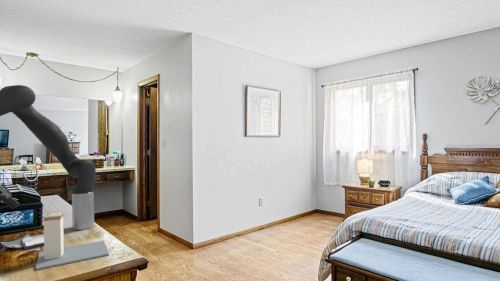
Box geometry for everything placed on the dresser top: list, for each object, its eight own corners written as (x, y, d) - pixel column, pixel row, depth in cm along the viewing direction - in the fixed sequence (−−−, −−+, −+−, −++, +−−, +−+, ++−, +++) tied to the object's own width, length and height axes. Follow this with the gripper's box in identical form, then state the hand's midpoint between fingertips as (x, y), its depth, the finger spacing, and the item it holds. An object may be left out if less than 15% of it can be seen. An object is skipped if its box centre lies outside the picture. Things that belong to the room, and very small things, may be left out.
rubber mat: (39, 253, 111) (39, 251, 111) (103, 241, 123) (103, 240, 123) (35, 270, 97) (35, 268, 97) (108, 255, 109) (108, 253, 109)
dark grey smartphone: (21, 241, 126) (24, 251, 115) (21, 237, 126) (24, 247, 115) (45, 236, 132) (51, 245, 121) (45, 233, 132) (51, 241, 121)
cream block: (44, 259, 104) (43, 217, 103) (48, 254, 108) (47, 214, 108) (61, 257, 106) (60, 216, 105) (64, 252, 110) (63, 212, 110)
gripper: (-29, 167, 93) (19, 202, 98) (-11, 163, 105) (31, 194, 110) (-51, 185, 91) (0, 219, 96) (-29, 179, 103) (14, 210, 108)
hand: (16, 206), depth 103 cm, fingers closed
